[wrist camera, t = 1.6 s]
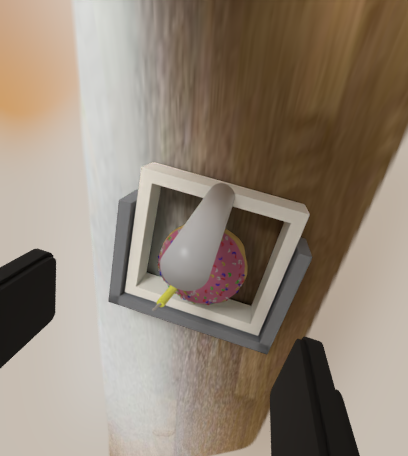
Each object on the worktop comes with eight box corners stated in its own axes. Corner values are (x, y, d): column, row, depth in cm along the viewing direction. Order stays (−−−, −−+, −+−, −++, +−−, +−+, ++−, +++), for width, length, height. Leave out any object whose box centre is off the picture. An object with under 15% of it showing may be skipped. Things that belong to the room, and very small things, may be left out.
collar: (154, 156, 27) (34, 199, 13) (307, 198, 26) (363, 300, 11) (135, 277, 33) (41, 398, 19) (258, 316, 32) (255, 478, 18)
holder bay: (136, 189, 29) (119, 200, 25) (305, 238, 27) (312, 257, 24) (124, 281, 34) (108, 301, 31) (266, 327, 33) (267, 354, 29)
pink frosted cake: (171, 269, 32) (124, 347, 21) (175, 201, 29) (122, 252, 18) (243, 283, 31) (233, 374, 20) (256, 214, 28) (252, 277, 17)
